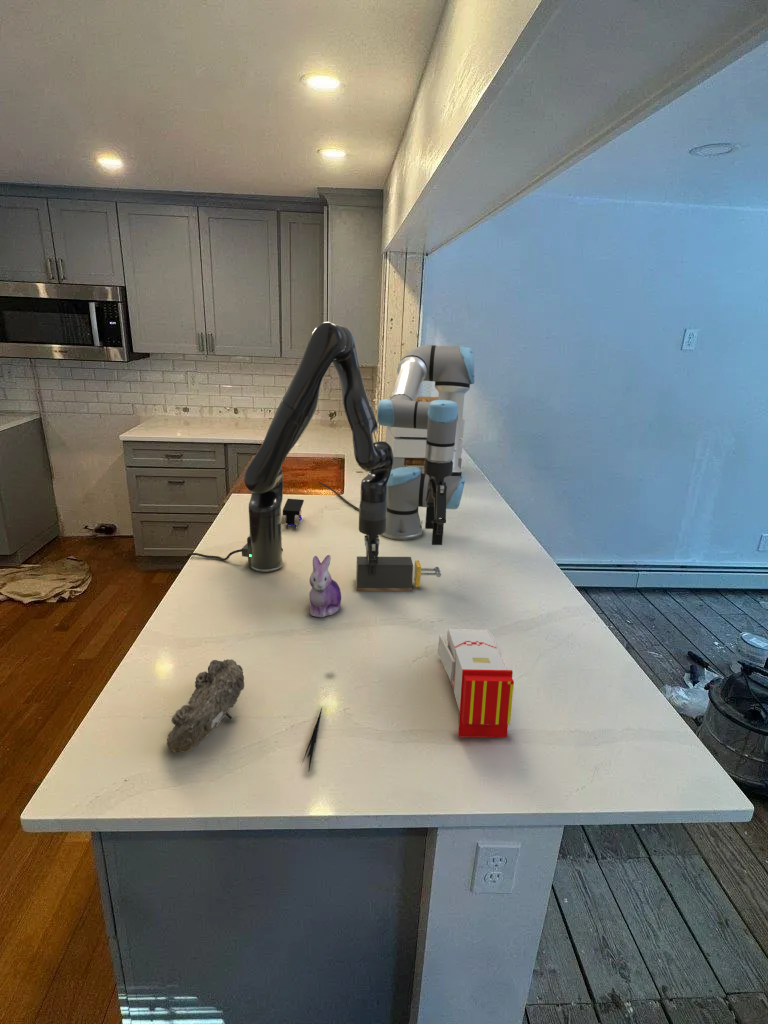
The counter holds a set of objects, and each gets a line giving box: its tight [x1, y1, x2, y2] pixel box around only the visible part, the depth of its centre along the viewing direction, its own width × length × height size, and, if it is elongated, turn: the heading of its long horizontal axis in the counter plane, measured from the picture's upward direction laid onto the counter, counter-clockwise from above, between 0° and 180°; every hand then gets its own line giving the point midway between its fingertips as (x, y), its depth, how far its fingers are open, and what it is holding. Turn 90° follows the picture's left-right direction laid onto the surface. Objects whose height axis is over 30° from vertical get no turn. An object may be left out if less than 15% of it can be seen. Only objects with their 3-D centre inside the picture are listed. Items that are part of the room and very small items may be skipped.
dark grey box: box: [355, 555, 414, 592], centre depth 161 cm, size 16×6×8 cm, turn 95°
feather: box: [301, 673, 332, 771], centre depth 108 cm, size 2×28×2 cm
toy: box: [437, 628, 515, 738], centre depth 117 cm, size 12×13×30 cm
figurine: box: [308, 554, 342, 618], centre depth 145 cm, size 9×10×15 cm
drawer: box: [413, 559, 442, 588], centre depth 161 cm, size 20×4×6 cm, turn 95°
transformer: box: [384, 396, 465, 470], centre depth 268 cm, size 34×33×41 cm
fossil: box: [166, 658, 245, 754], centre depth 106 cm, size 22×10×15 cm
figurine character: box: [281, 498, 305, 530], centre depth 203 cm, size 7×8×15 cm
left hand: (370, 568), depth 160 cm, fingers open, 8 cm apart
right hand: (433, 536), depth 158 cm, fingers open, 11 cm apart
